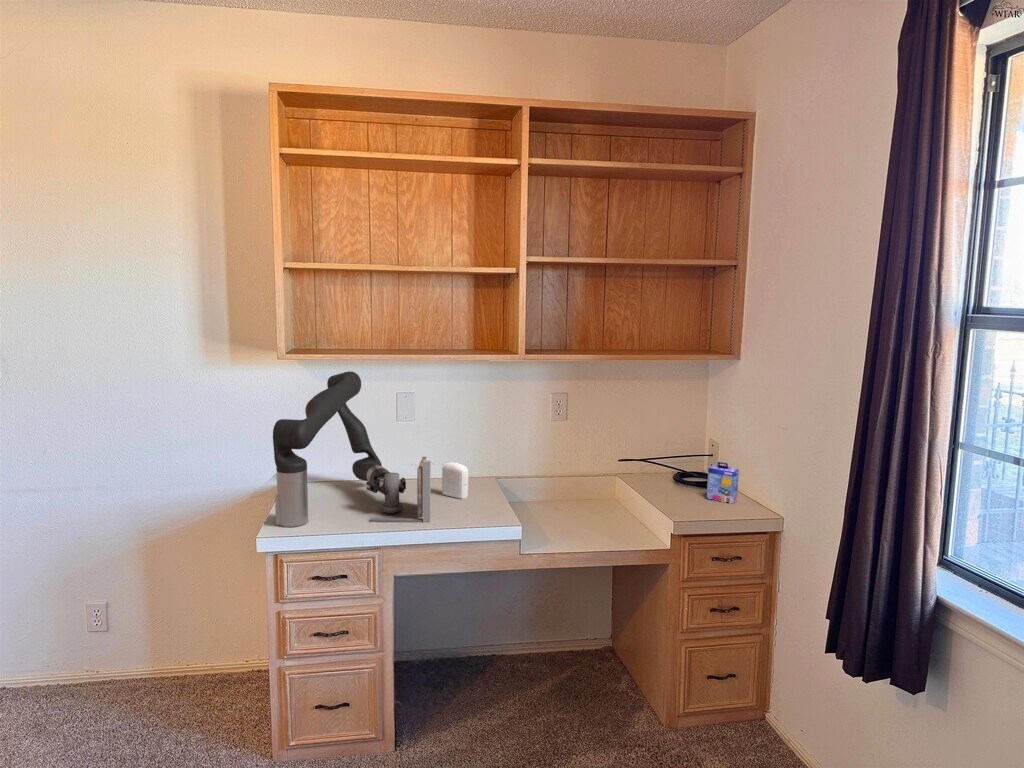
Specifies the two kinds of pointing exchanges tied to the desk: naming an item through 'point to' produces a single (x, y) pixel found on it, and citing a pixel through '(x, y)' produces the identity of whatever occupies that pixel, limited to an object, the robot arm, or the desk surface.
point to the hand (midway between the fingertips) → (394, 491)
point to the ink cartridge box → (722, 483)
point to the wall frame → (425, 499)
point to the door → (420, 488)
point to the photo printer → (455, 480)
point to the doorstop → (392, 494)
